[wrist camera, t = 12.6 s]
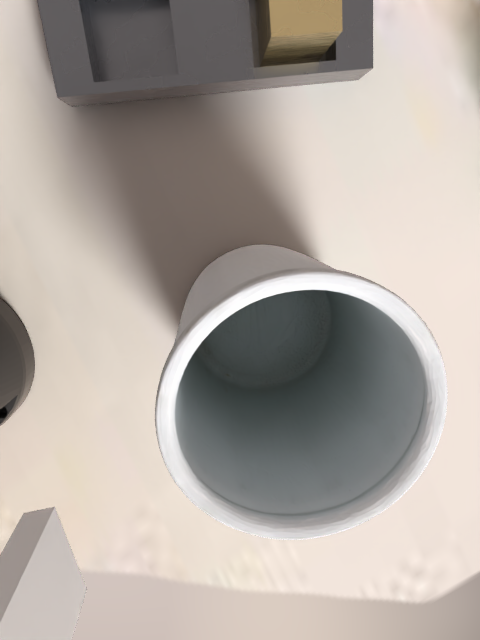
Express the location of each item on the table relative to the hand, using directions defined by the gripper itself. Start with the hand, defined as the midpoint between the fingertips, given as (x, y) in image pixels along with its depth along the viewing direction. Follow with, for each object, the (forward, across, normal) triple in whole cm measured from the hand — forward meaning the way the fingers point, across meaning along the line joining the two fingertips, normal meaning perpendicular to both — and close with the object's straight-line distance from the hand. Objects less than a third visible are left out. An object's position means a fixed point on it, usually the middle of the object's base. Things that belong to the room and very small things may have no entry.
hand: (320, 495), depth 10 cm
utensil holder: (+26, +2, -4) cm, 27 cm away
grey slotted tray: (+26, +1, +18) cm, 32 cm away
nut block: (+26, +7, +18) cm, 32 cm away
